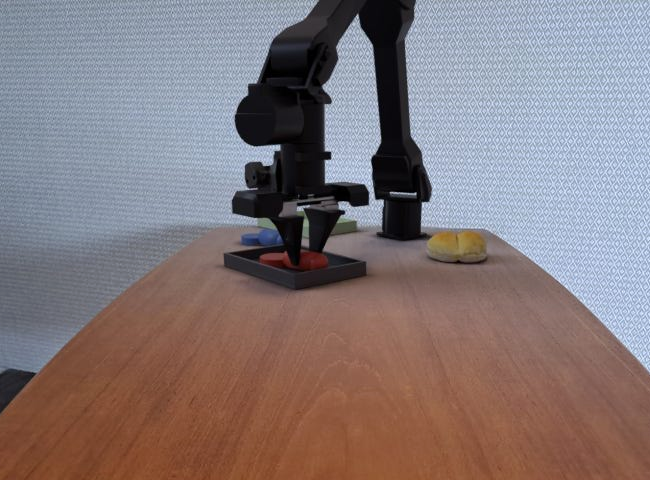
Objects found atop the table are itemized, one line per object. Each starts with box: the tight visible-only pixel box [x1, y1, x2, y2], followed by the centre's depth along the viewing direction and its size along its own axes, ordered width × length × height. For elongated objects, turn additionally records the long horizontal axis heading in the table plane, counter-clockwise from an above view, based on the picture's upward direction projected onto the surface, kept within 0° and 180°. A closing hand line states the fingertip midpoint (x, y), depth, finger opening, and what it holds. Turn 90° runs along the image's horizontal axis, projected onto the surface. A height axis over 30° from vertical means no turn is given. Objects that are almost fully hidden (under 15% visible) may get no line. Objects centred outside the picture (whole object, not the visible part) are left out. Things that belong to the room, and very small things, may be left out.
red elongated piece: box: [260, 250, 329, 272], centre depth 93 cm, size 12×5×3 cm, turn 47°
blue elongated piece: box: [240, 228, 283, 247], centre depth 109 cm, size 12×5×3 cm, turn 40°
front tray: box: [222, 244, 367, 290], centre depth 94 cm, size 17×12×2 cm
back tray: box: [256, 210, 358, 239], centre depth 125 cm, size 16×11×2 cm
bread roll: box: [426, 230, 488, 264], centre depth 101 cm, size 8×9×4 cm
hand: (304, 263), depth 92 cm, fingers closed on red elongated piece, 3 cm apart
